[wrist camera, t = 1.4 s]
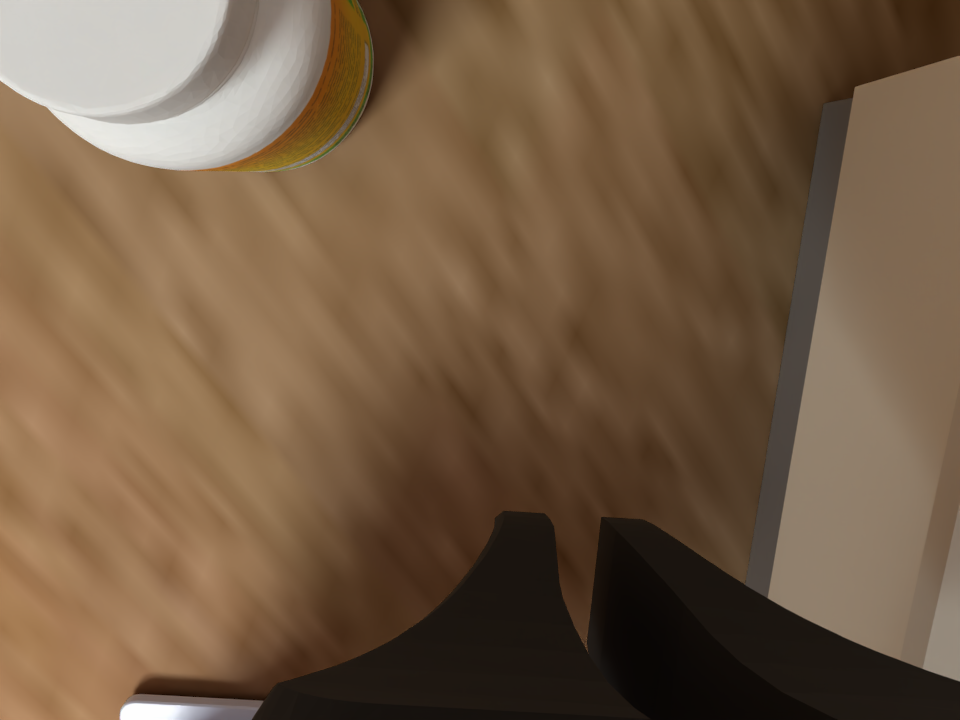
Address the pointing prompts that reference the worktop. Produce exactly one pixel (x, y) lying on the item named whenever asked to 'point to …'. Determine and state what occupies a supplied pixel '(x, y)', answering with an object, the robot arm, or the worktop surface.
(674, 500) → the worktop surface
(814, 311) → the cable duct
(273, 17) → the supplement bottle
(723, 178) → the worktop surface
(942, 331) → the panel
